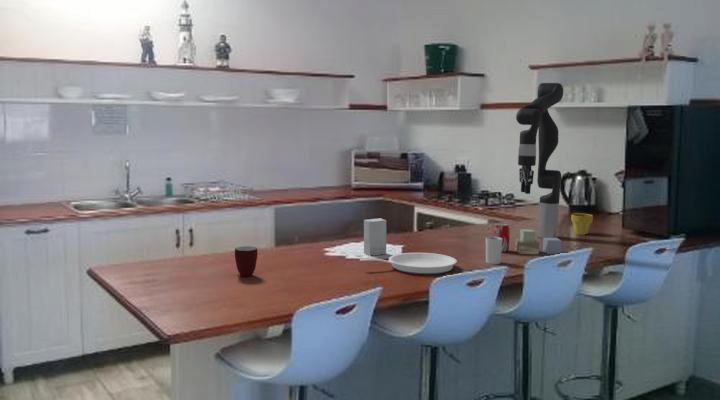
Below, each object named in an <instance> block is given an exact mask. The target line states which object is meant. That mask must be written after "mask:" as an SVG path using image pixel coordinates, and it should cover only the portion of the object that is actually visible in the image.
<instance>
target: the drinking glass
mask: <svg viewBox="0 0 720 400" xmlns="http://www.w3.org/2000/svg"><path fill="white" fill-rule="evenodd" d="M501 250H502V238H500V237H493V236H486V237H485V263H486V264H489V263H490V264H489V265H499V264H501V260H502V252H501Z"/></svg>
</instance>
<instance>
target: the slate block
mask: <svg viewBox="0 0 720 400" xmlns="http://www.w3.org/2000/svg"><path fill="white" fill-rule="evenodd" d="M542 252H544V253H545V254H547V255H557V254H556V253H562V240H561V239H559V238H558V237H557V238H542Z"/></svg>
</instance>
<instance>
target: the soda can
mask: <svg viewBox="0 0 720 400" xmlns="http://www.w3.org/2000/svg"><path fill="white" fill-rule="evenodd" d="M510 232H511V229H510V226H509V223H501V222H497V223H495V225H494V226H493V233H492V237H500V238H502V250H501V253H506V252H508V251H509V249H510V240H511V239H510V237H511V236H510V235H511V233H510Z"/></svg>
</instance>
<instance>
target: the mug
mask: <svg viewBox="0 0 720 400" xmlns="http://www.w3.org/2000/svg"><path fill="white" fill-rule="evenodd" d="M234 258H235V264H236V265H235V266H236V270H237V272H238V273H239V275H240V276H241V277H242V278H244V277H245V278H249V277H252V276H253V274H254V272H255V271H256V270H255V269H256V265H257V261H258V247H256V246H251V245H250V246H247V245H245V246H238V247H235V248H234Z"/></svg>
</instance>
